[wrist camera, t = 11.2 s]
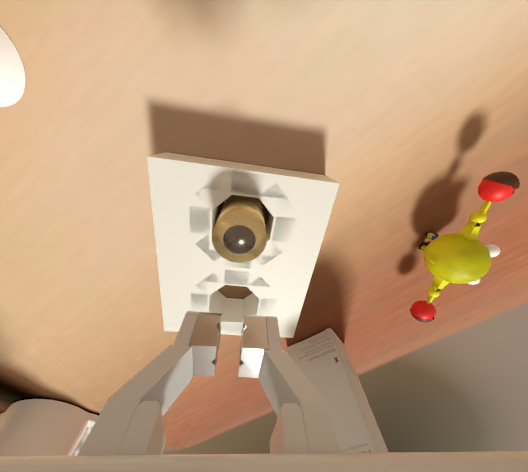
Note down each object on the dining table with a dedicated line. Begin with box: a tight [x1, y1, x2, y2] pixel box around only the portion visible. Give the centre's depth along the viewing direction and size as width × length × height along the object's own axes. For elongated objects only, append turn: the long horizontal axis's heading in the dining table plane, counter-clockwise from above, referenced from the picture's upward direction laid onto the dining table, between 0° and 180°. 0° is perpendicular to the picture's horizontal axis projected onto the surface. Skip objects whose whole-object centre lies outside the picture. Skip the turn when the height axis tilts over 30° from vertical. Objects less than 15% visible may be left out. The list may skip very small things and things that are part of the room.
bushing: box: [212, 195, 267, 263], centre depth 20 cm, size 4×4×7 cm
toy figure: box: [410, 172, 520, 322], centre depth 23 cm, size 18×6×7 cm, turn 174°
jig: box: [147, 152, 340, 338], centre depth 23 cm, size 20×16×4 cm
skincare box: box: [287, 328, 389, 453], centre depth 27 cm, size 8×6×15 cm
